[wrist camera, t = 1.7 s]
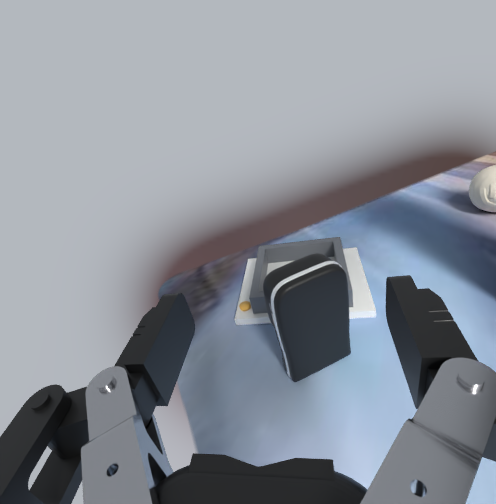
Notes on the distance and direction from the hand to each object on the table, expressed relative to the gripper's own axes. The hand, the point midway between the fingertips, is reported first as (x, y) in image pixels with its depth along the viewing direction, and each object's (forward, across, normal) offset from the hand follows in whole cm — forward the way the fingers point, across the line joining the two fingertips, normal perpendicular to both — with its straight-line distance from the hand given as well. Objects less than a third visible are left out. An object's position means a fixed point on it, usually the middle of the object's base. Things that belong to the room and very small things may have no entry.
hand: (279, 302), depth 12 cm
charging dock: (+24, +1, +18) cm, 30 cm away
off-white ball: (+38, -28, +18) cm, 51 cm away
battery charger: (+12, 0, +18) cm, 22 cm away
